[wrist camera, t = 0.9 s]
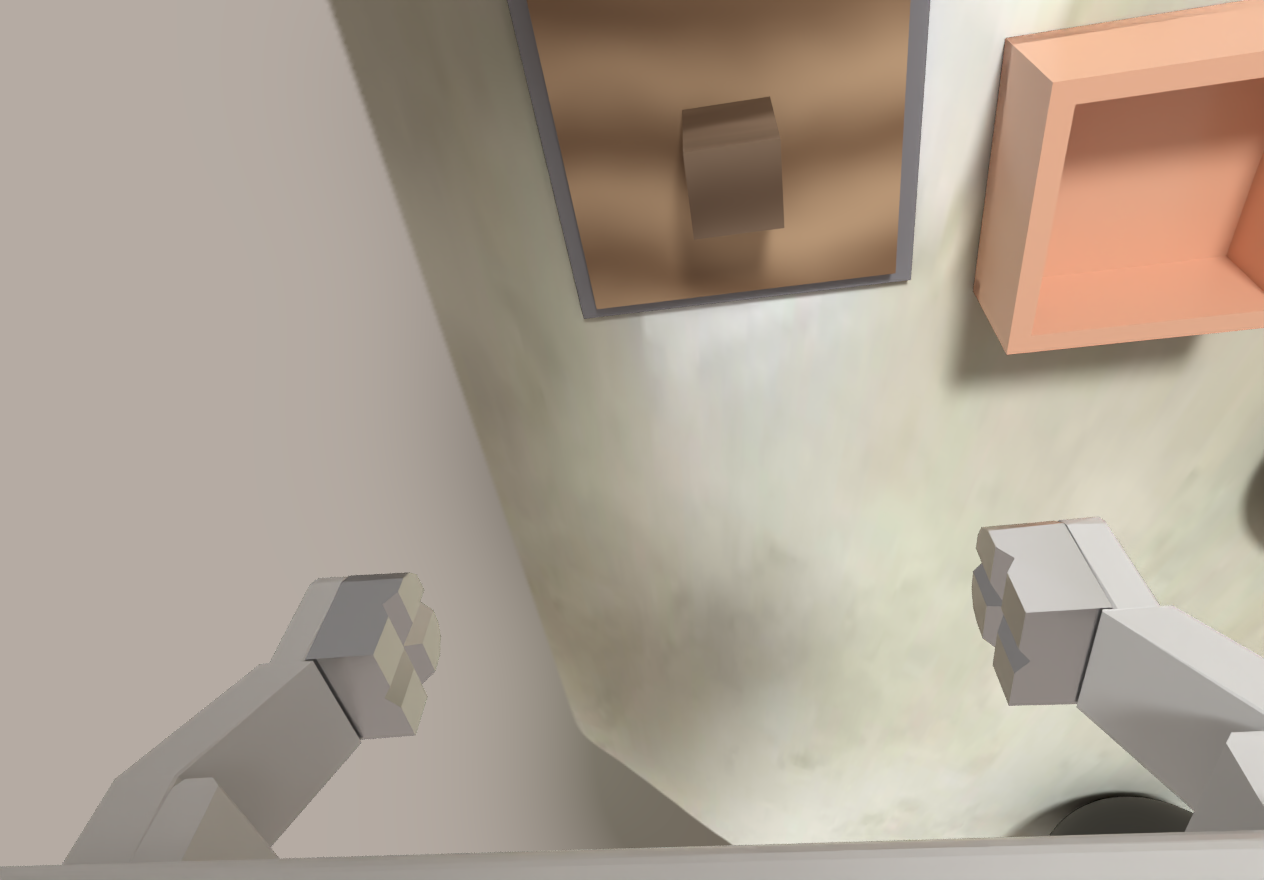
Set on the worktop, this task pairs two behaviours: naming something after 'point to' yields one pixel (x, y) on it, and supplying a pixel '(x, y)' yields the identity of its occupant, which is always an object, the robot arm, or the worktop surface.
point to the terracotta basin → (1127, 182)
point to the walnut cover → (727, 140)
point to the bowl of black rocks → (1124, 817)
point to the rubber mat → (587, 301)
